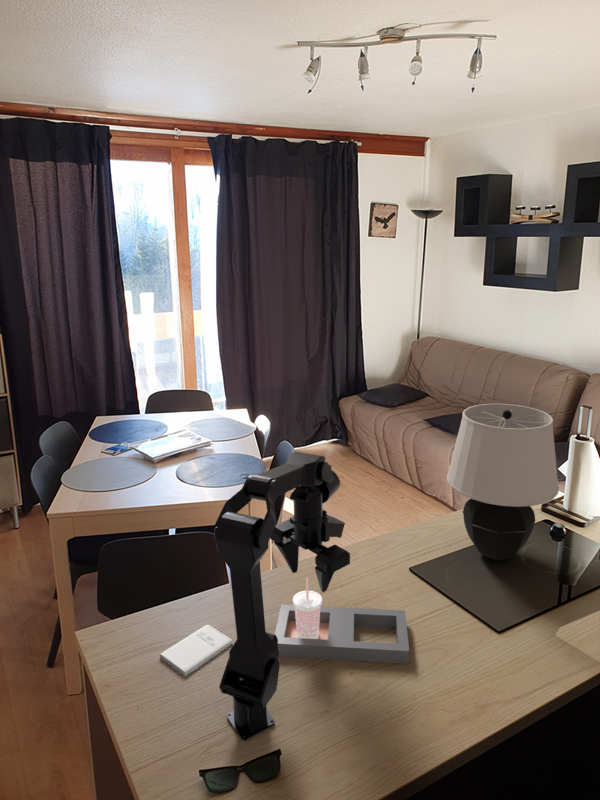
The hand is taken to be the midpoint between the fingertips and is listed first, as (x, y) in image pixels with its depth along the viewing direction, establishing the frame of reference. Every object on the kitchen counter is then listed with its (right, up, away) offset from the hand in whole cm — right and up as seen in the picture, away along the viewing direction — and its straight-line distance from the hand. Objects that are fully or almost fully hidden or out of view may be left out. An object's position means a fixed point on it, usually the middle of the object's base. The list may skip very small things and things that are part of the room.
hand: (309, 581), depth 122 cm
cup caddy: (+7, -13, +2) cm, 15 cm away
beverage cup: (0, -13, +3) cm, 13 cm away
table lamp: (+50, -4, +33) cm, 60 cm away
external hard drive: (-23, -15, 0) cm, 27 cm away
